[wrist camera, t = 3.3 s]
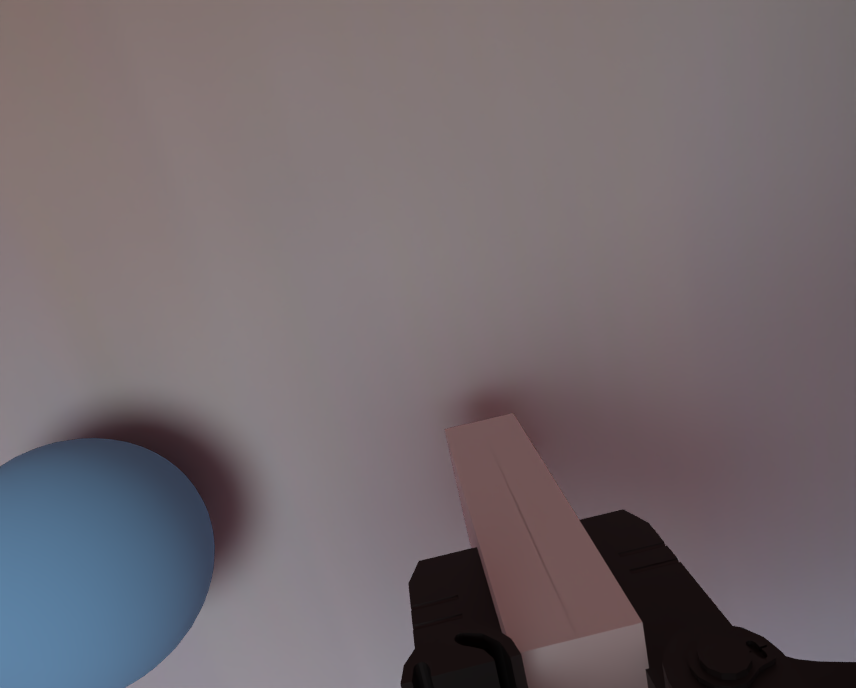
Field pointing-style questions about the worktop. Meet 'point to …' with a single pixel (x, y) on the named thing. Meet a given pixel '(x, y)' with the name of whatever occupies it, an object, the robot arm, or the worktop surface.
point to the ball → (97, 563)
